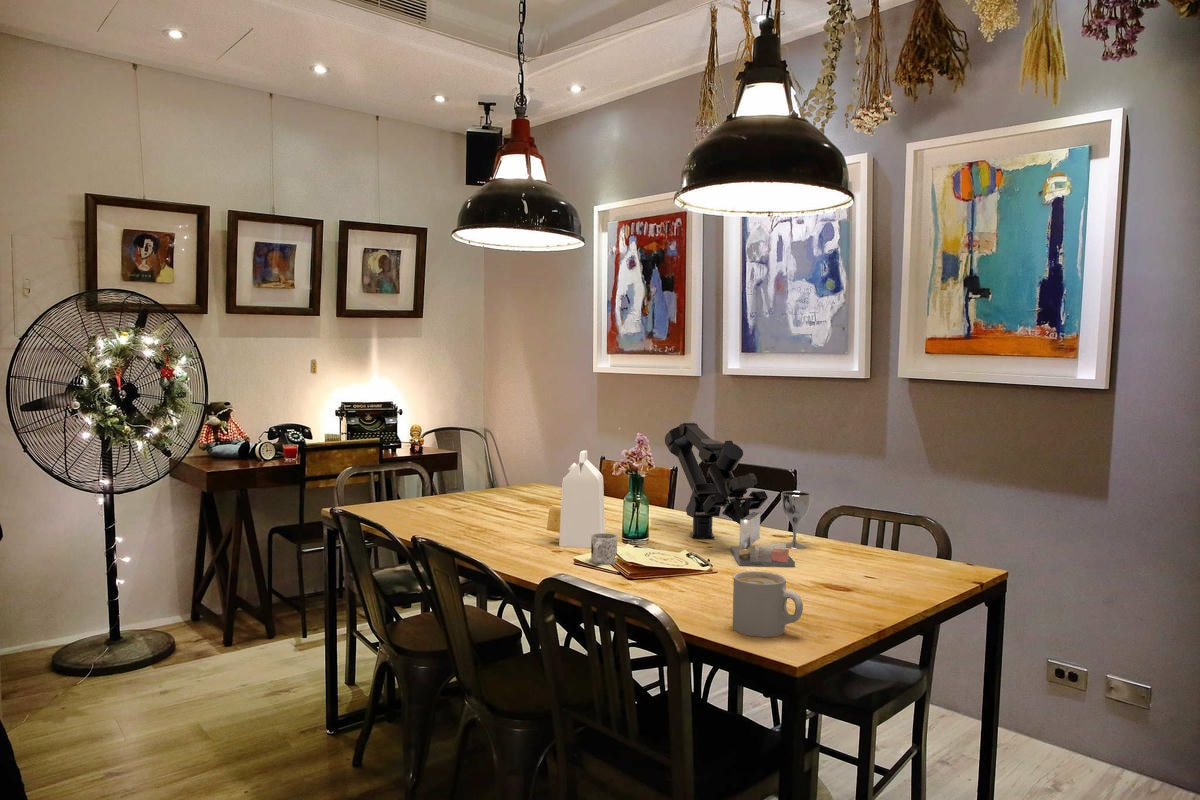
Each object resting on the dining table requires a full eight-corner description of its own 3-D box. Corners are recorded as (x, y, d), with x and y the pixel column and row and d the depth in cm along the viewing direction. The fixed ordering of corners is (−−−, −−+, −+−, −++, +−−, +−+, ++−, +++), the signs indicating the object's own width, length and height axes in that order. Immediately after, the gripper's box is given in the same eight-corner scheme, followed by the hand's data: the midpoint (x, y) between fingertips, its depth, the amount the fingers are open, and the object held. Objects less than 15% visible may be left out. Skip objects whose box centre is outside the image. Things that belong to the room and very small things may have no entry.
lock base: (730, 550, 225) (730, 537, 225) (781, 551, 225) (782, 538, 224) (739, 566, 208) (739, 552, 207) (795, 567, 207) (795, 553, 207)
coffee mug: (722, 628, 159) (723, 577, 158) (750, 617, 166) (751, 568, 165) (783, 645, 149) (784, 591, 149) (810, 632, 157) (811, 581, 156)
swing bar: (748, 548, 210) (749, 521, 210) (738, 546, 212) (738, 520, 211) (761, 538, 222) (761, 513, 222) (750, 537, 223) (751, 512, 223)
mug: (596, 557, 215) (596, 532, 215) (620, 559, 213) (620, 534, 213) (582, 566, 206) (582, 539, 206) (606, 568, 204) (607, 542, 203)
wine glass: (806, 543, 235) (807, 491, 235) (810, 549, 228) (812, 495, 227) (778, 542, 236) (779, 490, 236) (781, 548, 228) (783, 495, 228)
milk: (600, 548, 226) (601, 454, 225) (559, 546, 227) (560, 453, 226) (605, 539, 238) (606, 449, 237) (565, 537, 239) (566, 448, 238)
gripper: (710, 465, 220) (734, 514, 211) (765, 461, 228) (790, 508, 219) (692, 489, 227) (714, 537, 218) (746, 485, 236) (769, 531, 227)
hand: (748, 528), depth 220 cm, fingers closed
